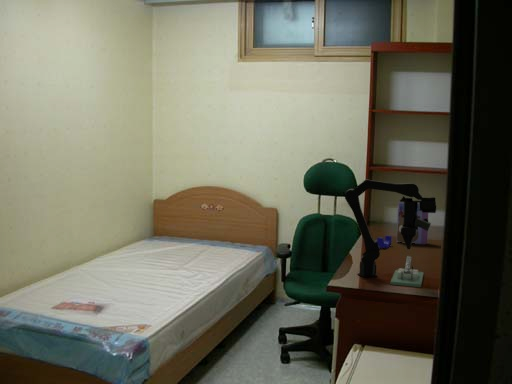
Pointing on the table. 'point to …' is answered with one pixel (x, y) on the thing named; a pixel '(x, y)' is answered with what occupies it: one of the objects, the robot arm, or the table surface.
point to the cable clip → (384, 242)
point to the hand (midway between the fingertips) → (409, 248)
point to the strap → (408, 265)
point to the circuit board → (407, 280)
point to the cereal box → (421, 233)
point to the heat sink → (412, 275)
